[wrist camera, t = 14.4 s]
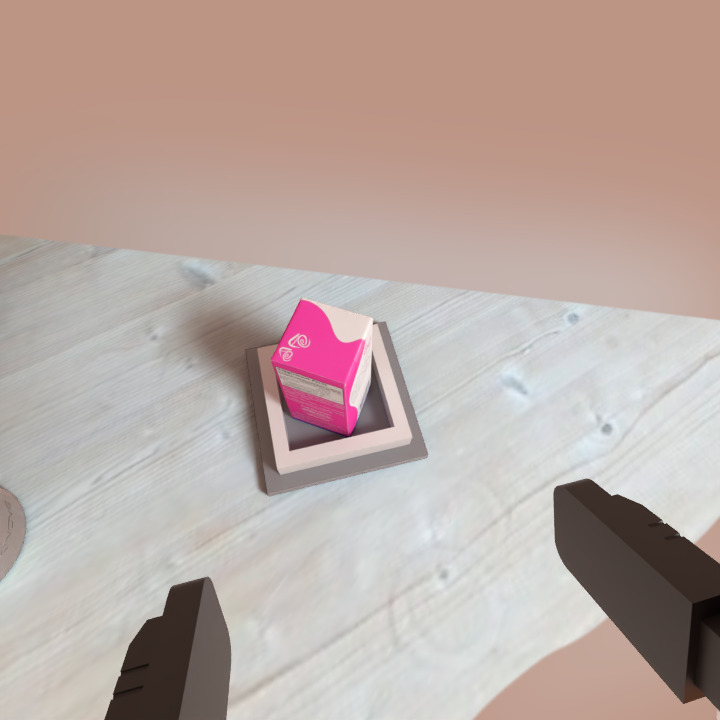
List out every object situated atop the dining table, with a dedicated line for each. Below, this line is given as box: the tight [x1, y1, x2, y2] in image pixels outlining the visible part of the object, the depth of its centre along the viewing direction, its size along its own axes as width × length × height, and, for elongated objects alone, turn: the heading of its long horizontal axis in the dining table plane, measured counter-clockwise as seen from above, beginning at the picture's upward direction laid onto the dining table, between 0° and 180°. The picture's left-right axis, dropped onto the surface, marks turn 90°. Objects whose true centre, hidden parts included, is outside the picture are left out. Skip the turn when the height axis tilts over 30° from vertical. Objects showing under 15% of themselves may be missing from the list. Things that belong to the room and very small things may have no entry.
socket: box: [246, 321, 428, 496], centre depth 42 cm, size 14×14×3 cm
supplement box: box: [271, 298, 373, 437], centre depth 37 cm, size 6×6×12 cm
